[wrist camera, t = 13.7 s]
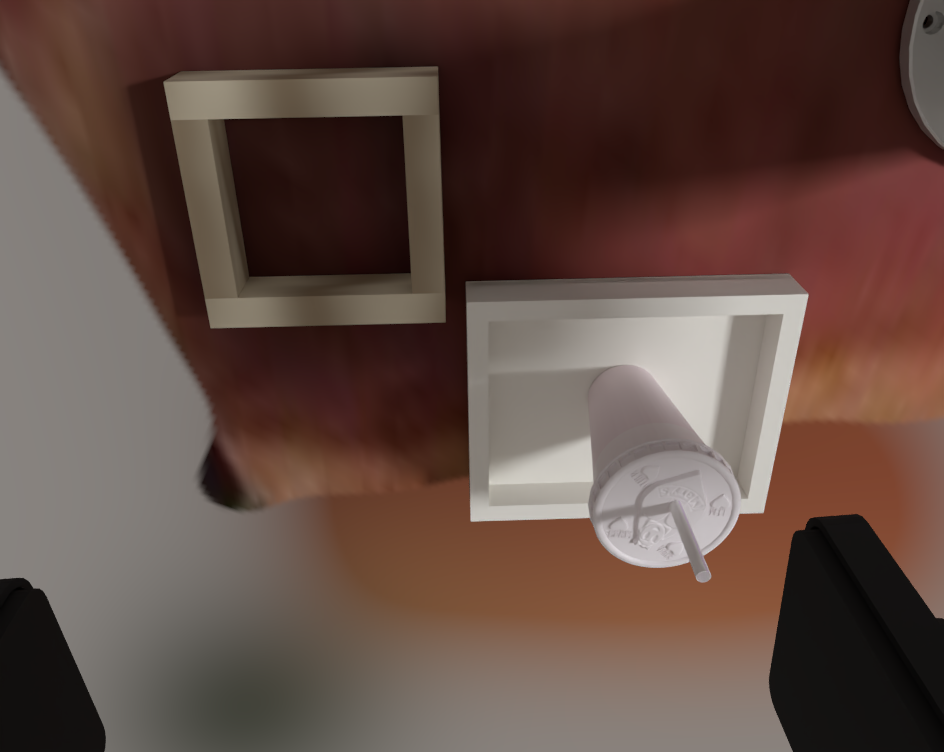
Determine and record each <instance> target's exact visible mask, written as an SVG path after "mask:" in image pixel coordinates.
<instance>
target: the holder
mask: <svg viewBox="0 0 944 752" xmlns="http://www.w3.org/2000/svg"><path fill="white" fill-rule="evenodd" d="M163 83H164V88H165V93H166V99H167V104H168V109H169V114H170V120H171V125H172V130H173V135H174V140H175V146H176V151H177V156H178V161H179V166H180V172H181V177H182V182H183V187H184V192H185V198H186V203H187V208H188V213H189V218H190V224H191V229H192V234H193V239H194V245H195V250H196V255H197V260H198V265H199V271H200V276H201V281H202V286H203V291H204V297H205V302H206V307H207V312H208V317H209V323H210V328H243V327H283V326H323V325H364V324H404V323H444V322H446V293H445V262H444V232H443V201H442V171H441V140H440V109H439V79H438V66H436V67H384V68H332V69H280V70H229V71H181V72H179V73H177V74H176V75H174V76H172V77H171V78H169V79H167V80H166V81H164V82H163ZM401 115H402V116H403V135H404V153H405V171H406V190H407V208H408V226H409V244H410V263H411V273H398V274H356V275H314V276H272V277H249V272H248V266H247V260H246V254H245V247H244V241H243V235H242V229H241V223H240V216H239V210H238V204H237V198H236V191H235V185H234V179H233V173H232V166H231V160H230V154H229V148H228V141H227V135H226V129H225V123H224V119H253V118H302V117H352V116H401Z"/></svg>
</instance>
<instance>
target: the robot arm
mask: <svg viewBox="0 0 944 752" xmlns="http://www.w3.org/2000/svg"><path fill="white" fill-rule="evenodd" d="M927 16H928V21H927V23H926V24H925V25H924V26H923V22H924V20H925V18H926V17H927ZM899 61H900V72H901V83H902V88H903V91H904V94H905V97H906V101H907V104H908V107H909V110H910V112H911V113H912V115H913V117H914V118H915V120H916V122H917V123H918V125H919V127H920V128H921V130H922V131H923V132H924V133H925V134H926V135H927V136H928V137H929V138H930V139H931V140H932V141H933V142H934V143H935V144H936V145H937V146H938V147H940V148H942V149H943V150H944V0H910V1H909V5H908V9H907V13H906V16H905V20H904V24H903V27H902V35H901V45H900V56H899ZM769 688H770V694H771V698H772V702H773V705H774V708H775V711H776V713H777V715H778V717H779V720H780V722H781V724H782V727H783V729H784V732H785V734H786V736H787V739H788V741H789V743H790V746H791V748H792V750H793V752H944V619H942V618H935V617H934V615H933V613H932V612H931V611H930V609H929V608H928V606H927V605H926V604H925V602H924V601H923V599H922V598H921V597H920V595H919V594H918V592H917V591H916V590H915V588H914V587H913V586H912V584H911V583H910V581H909V580H908V578H907V577H906V576H905V574H904V573H903V571H902V570H901V568H900V567H899V566H898V564H897V563H896V562H895V560H894V559H893V557H892V556H891V554H890V553H889V552H888V550H887V549H886V548H885V546H884V545H883V543H882V542H881V540H880V539H879V538H878V536H877V535H876V534H875V532H874V531H873V529H872V528H871V526H870V525H869V523H868V522H867V521H866V520H865V519H864V518H863V517H862V516H860V515H858V514H853V515H839V516H827V517H814V518H810V519H809V521H808V522H807V524H806V528H805V530H799V531H796V532H795V533H794V534H793V538H792V542H791V549H790V554H789V561H788V566H787V572H786V578H785V584H784V591H783V597H782V603H781V609H780V615H779V621H778V627H777V633H776V639H775V645H774V651H773V657H772V663H771V669H770V676H769ZM105 743H106V736H105V730H104V726H103V724H102V721H101V719H100V717H99V715H98V712H97V710H96V708H95V706H94V703H93V701H92V699H91V697H90V694H89V692H88V690H87V687H86V685H85V683H84V681H83V679H82V676H81V674H80V672H79V669H78V667H77V665H76V663H75V660H74V658H73V656H72V654H71V651H70V649H69V647H68V644H67V642H66V640H65V638H64V635H63V633H62V631H61V629H60V626H59V624H58V622H57V619H56V617H55V615H54V613H53V610H52V608H51V606H50V604H49V601H48V599H47V597H46V595H45V593H44V592H43V591H42V590H40V589H33V587H32V586H31V584H30V582H29V581H27V580H26V579H24V578H12V579H0V752H104V751H105Z"/></svg>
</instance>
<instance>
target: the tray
mask: <svg viewBox="0 0 944 752" xmlns="http://www.w3.org/2000/svg"><path fill="white" fill-rule="evenodd" d="M808 295H809V294H808V293H807V292H806V291H805V290H804V289H803V288H802V287H801V286H800V285H799V284H798V283H797V282H796V280H795V279H794V278H793V277H792V276H791V275H790V274H754V275H713V276H671V277H629V278H587V279H545V280H503V281H466V333H467V384H468V436H469V485H470V486H469V488H470V515H471V521H499V520H532V519H533V520H534V519H566V518H567V519H568V518H590V515H589V508H588V501H589V496H590V491H591V487H592V486H593V484H594V483H593V466H592V451H591V437H590V422H589V408H588V393H589V389H590V387H591V385H592V383H593V382H594V380H595V379H596V378H597V377H598V376H599V375H600V374H601V373H603V372H604V371H606V370H608V369H610V368H612V367H615V366H620V365H634V366H638V367H641V368H643V369H645V370H646V371H648V372H649V373H650V374H651V375H652V376H653V377H654V379H655V380H656V381H657V383H658V384H659V385H660V387H661V388H662V389H663V391H664V392H665V393H666V394H667V396H668V397H669V398H670V400H671V401H672V402H673V404H674V405H675V406H676V407H677V409H678V410H679V411H680V413H681V414H682V415H683V417H684V418H685V419H686V420H687V422H688V423H689V424H690V426H691V427H692V428H693V430H694V431H695V432H696V433H697V435H698V436H699V437H700V439H701V440H702V441H703V442H704V443H705V445H707V446H708V447H710V448H712V449H713V450H715V451H716V452H718V453H720V454H721V456H722V457H723V458H724V459H725V460H726V462H727V463H728V464H729V465H730V466H731V469H732V472H733V474H734V477H735V479H736V481H737V483H738V486H739V489H740V494H741V508H740V513H763V512H764V507H765V502H766V498H767V493H768V488H769V483H770V478H771V474H772V469H773V464H774V459H775V454H776V449H777V445H778V440H779V435H780V430H781V425H782V420H783V416H784V411H785V406H786V401H787V396H788V391H789V387H790V382H791V377H792V372H793V367H794V362H795V358H796V353H797V348H798V343H799V338H800V333H801V329H802V324H803V319H804V314H805V309H806V304H807V300H808ZM740 513H739V514H740Z"/></svg>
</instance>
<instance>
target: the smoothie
mask: <svg viewBox="0 0 944 752" xmlns="http://www.w3.org/2000/svg"><path fill="white" fill-rule="evenodd" d="M588 408H589V422H590V437H591V451H592V466H593V483H594V484H593V486H592V487H591V491H590V496H589V501H588V508H589V515H590V520H591V522H592V524H593V526H594V529H595V532H596V535H597V537H598V539H599V541H600V542H601V544H602V545H603V546H604V547H605V548H606V549H607V550H608V551H609V552H610V553H611V554H612V555H614V556H615V557H617V558H619V559H621V560H622V561H625V562H627V563H630V564H633V565H637V566H642V567H651V568H662V567H670V566H676V565H681V564H684V563H688V562H690V563H691V566H692V568H693V571H694V574H695V576H696V579H697V581H699V582H706V581H708V580H709V579H710V578H711V574H710V571H709V569H708V567H707V564H706V562H705V559H704V557H703V555H705V554H707V553H708V552H710V551H711V550H713V549H714V548H715V547H717V546H718V545H719V544H720V543H721V542H722V541H723V540H724V539H725V538H726V537H727V536H728V534H729V533H730V532H731V530H732V529H733V527H734V525H735V523H736V521H737V519H738V516H739V513H740V508H741V494H740V489H739V486H738V483H737V481H736V479H735V477H734V474H733V472H732V469H731V466H730V465H729V464H728V463H727V462H726V460H725V459H724V458H723V457H722V456H721V454H720V453H718V452H716V451H715V450H713V449H712V448H710V447H708V446H707V445H705V443H704V442H703V441H702V440H701V439H700V437H699V436H698V435H697V433H696V432H695V431H694V430H693V428H692V427H691V426H690V424H689V423H688V422H687V420H686V419H685V418H684V417H683V415H682V414H681V413H680V411H679V410H678V409H677V407H676V406H675V405H674V404H673V402H672V401H671V400H670V398H669V397H668V396H667V394H666V393H665V392H664V391H663V389H662V388H661V387H660V385H659V384H658V383H657V381H656V380H655V379H654V377H653V376H652V375H651V374H650V373H649V372H648V371H646V370H645V369H643V368H641V367H638V366H634V365H620V366H615V367H612V368H610V369H608V370H606V371H604V372H603V373H601V374H600V375H599V376H598V377H597V378H596V379H595V380H594V382H593V383H592V385H591V387H590V389H589V393H588Z"/></svg>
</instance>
